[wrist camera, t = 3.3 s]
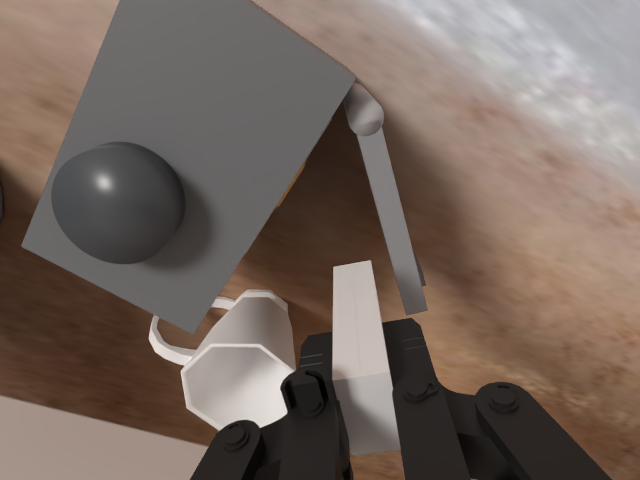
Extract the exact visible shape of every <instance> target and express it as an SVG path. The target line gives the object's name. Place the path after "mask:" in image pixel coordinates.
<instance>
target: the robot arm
mask: <svg viewBox="0 0 640 480" xmlns="http://www.w3.org/2000/svg"><path fill="white" fill-rule="evenodd" d="M300 357H301V359H300V364H299V365H300V367H299V370H296V371H294V372H292V373H291V374H289V375H288V376H287V377H286V378H285V379H284V380H283V381H282V384H281V386H280V390H281V393H282V396H283V399H284V402H285V405H286V408H287V414H286V415H285V416H283V417H282V418H281V419H279V420H277V421H275V422H273V423H271V424H268V425H266V426H263V427H261V428H259V426H258V425H257V424H256V423H255V422H254V421H250V420H238V421H235V422H233V423H230V424H228V425H227V426H225V427H224V428H223V429H221V430H220V431H219V432H218V434H217V435H216V436H215V437H214V439H213V441H212V442H211V444H210V446H209V448H208V449H207V451H206V453H205V455H204V456H203V458H202V460H201V461H200V463H199V465H198V467H197V468H196V470H195V472H194V474H193V476H192V477H191V479H190V480H353V471H352V467H351V463H350V452H349V447H350V451H351V455H352V456H355V455H363V454H371V453H378V452H386V451H394V450H401V454H402V461H403V467H404V473H405V479H406V480H471V478H472V479H477V480H612V479H611V478H610V477H609V476H608V475H607V474H606V473H605V472H604V471H603V470H602V469H601V468H600V467H599V466H598V465H597V464H596V463H595V462H594V461H593V459H592V458H591V457H590V456H589V455H588V454H587V453H586V452H585V451H584V450H583V449H582V448H581V447H580V446H579V445H578V444H577V443H576V442H575V441H574V440H573V439H572V438H571V437H570V436H569V435H568V433H567V432H566V431H565V430H564V429H563V428H562V427H561V426H560V425H559V424H558V423H557V422H556V421H555V420H554V419H553V418H552V417H551V416H550V415H549V414H548V413H547V412H546V411H545V410H544V409H543V407H542V406H541V405H540V404H539V403H538V402H537V401H536V400H535V399H534V398H533V397H532V396H531V395H530V394H529V393H528V392H527V391H525V390H524V389H523V388H521V387H520V386H517V385H514V384H511V383H505V382H495V383H489V384H487V385H485V386H483V387H481V388H480V389H479V391H478V392H477V393H476V395H467V394H460V393H456V392H453V391H450V390H448V389H447V388H445V387H444V386H442V385H441V384H440V382H439V381H438V379H437V377H436V375H435V371H434V368H433V365H432V362H431V358H430V355H429V352H428V349H427V346H426V342H425V339H424V336H423V333H422V329H421V326H420V325H419V324H418V323H417V322H415V321H414V320H413V319H412V318H408V319H401V320H395V321H389V322H382V316H381V311H380V306H379V301H378V295H377V290H376V285H375V280H374V274H373V269H372V264H371V260H369V261H363V262H357V263H352V264H346V265H341V266H335V267H333V332H328V333H322V334H316V335H310V336H308V337H307V339H306V340H305V342H304V343H303V345H302V347H301V356H300Z"/></svg>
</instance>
